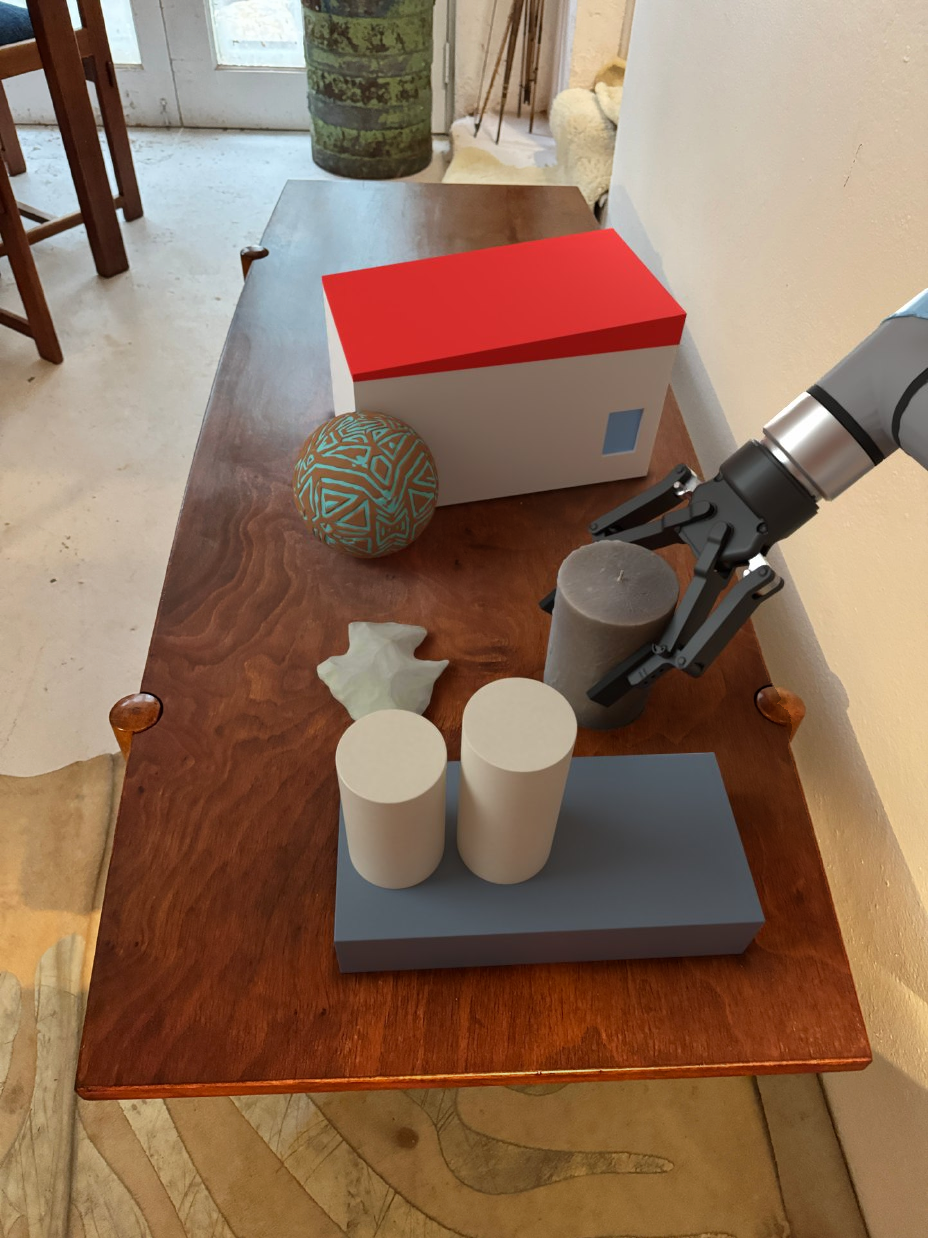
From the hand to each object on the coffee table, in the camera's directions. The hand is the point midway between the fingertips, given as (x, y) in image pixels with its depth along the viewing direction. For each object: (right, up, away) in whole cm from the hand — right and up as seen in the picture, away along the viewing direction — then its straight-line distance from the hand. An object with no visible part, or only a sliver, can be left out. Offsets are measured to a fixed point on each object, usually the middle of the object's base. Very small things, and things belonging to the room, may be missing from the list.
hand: (571, 653), depth 71 cm
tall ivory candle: (-6, -13, -9) cm, 17 cm away
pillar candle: (+3, -3, +5) cm, 7 cm away
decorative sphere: (-19, +12, +22) cm, 31 cm away
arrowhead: (-16, -4, +8) cm, 19 cm away
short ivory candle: (-14, -14, -9) cm, 22 cm away
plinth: (-4, -17, -4) cm, 18 cm away
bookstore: (-6, +25, +34) cm, 43 cm away
